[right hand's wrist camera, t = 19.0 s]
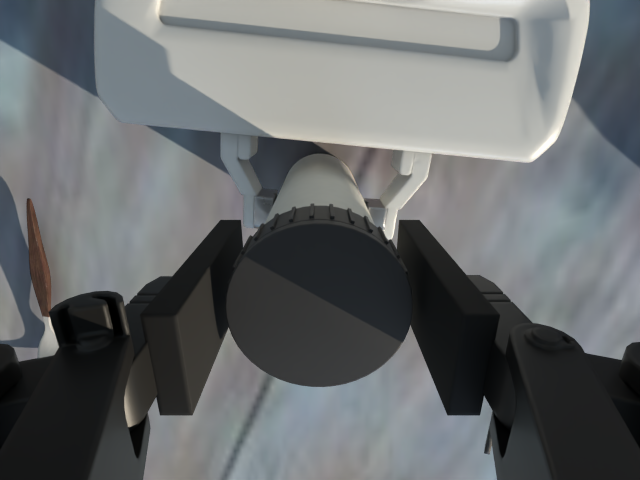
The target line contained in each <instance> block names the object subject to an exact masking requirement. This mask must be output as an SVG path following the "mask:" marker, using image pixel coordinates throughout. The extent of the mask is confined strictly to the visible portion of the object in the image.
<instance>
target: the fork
mask: <svg viewBox="0 0 640 480" xmlns="http://www.w3.org/2000/svg"><path fill="white" fill-rule="evenodd" d="M27 226H28V242H29V264H30V274H31V279H32V283H33V287H34V290H35V293H36V297H37V300H38V303H39V306H40V309H41V313H42V316H43V319H44V324H45V332H44V334H43V336H42V338H41V340H40V343H39V347H38V358H42V357H47V356H52V355H55V353H56V351H57V350H58V348H59V346H58V342H57V339H56V336H55V333H54V329H53V327H52V324H51V319H50V316H49V313H48V312H49V311H50V310H51V278H50V271H49V267H48V263H47V259H46V255H45V252H44V248H43V244H42V240H41V236H40V231H39V227H38V222H37V218H36V214H35V210H34V207H33V203H32V201H31V199H29V198H28V199H27Z"/></svg>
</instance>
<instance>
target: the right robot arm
mask: <svg viewBox="0 0 640 480" xmlns="http://www.w3.org/2000/svg"><path fill="white" fill-rule="evenodd" d="M242 249H243V242H242V230H241V220H220V221H219V223H218V224H217V225H216V226H215V227H214V228H213V230H212V231H211V232H210V233H209V234H208V235H207V237H206V238H205V239H204V240H203V241H202V242H201V244H200V245H199V246H198V247H197V248H196V250H195V251H194V252H193V253H192V254H191V255H190V257H189V258H188V259H187V260H186V261H185V262H184V264H183V265H182V266H181V267H180V268H179V269H178V271H177V272H176V273H175V274H174V275H173V276H161V277H159V278H157V279H155V280H153V281H152V282H150V283H148V284H146V285H145V286H144V287H143V288H142V289H141V290H140V291H139V292H138V293H137V296H135V297H134V298H133V299H132V300H131V301H130V304H127V305H126V306H124V301H123V297H122V296H121V295H120V294H118V293H116V292H111V291H96V292H90V293H85V294H81V295H78V296H75V297H72V298H69V299H67V300H65V301H63V302H61V303H59V304H57V305H55V306H54V307H53V308H52V309H51V310H50V311H49V312H48V313H49V316H50V319H51V323H52V326H53V329H54V333H55V336H56V339H57V342H58V346H59V348H58V350H57V351H56V353H55V355H52V356H47V357H42V358H37V359H31V360H26V361H21V362H19V361H18V358H17V356H16V353H15V350H14V348H13V347H11V346H10V345H8V344H0V480H143V476H144V469H145V462H146V455H147V448H148V441H149V435H150V421H149V417H148V410H149V409H150V407H151V405H152V403H153V401H154V400H155V398H156V397H157V402H158V407H159V412H160V415H193V413H194V410H195V408H196V405H197V403H198V400H199V398H200V396H201V393H202V391H203V388H204V386H205V383H206V381H207V378H208V376H209V374H210V371H211V369H212V366H213V364H214V361H215V359H216V356H217V354H218V352H219V349H220V347H221V344H222V342H223V339H224V337H225V334H226V332H227V330H228V327H229V326H228V322H227V318H226V309H225V301H226V292H227V287H228V286H227V283H228V281H229V279H230V277H231V275H232V273H233V271H234V270H232V267H233V265H234V263H235V261H236V259H237V257H238V256H239V254H240V252H241V250H242ZM397 251H398V253H399V255H400V257H401V259H402V261H403V263H404V265H405V267H406V269H407V271H408V274H407V277H408V280H409V283H410V285H411V287H412V296H413V313H412V320H411V324H410V325H411V327H412V330H413V332H414V334H415V337H416V339H417V342H418V344H419V347H420V349H421V352H422V354H423V356H424V359H425V361H426V364H427V366H428V369H429V371H430V374H431V376H432V378H433V381H434V383H435V386H436V388H437V391H438V393H439V396H440V398H441V400H442V403H443V405H444V408H445V410H446V413H447V415H480V412H481V407H482V402H483V397H484V396H485V398H486V399H487V401H488V403H489V405H490V407H491V408H492V410H493V412H492V417H491V421H490V426H489V430H488V435H487V440H486V444H485V451H484V453H485V454H490V450H491V446H492V447H493V454H494V461H495V468H496V475H497V480H640V342H635V343H631V344H630V345H628V346H627V347H626V350H625V353H624V356H623V358H622V360H618V359H613V358H608V357H602V356H597V355H592V354H587V353H585V352H584V351H583V349H582V347H581V346H580V345H579V344H578V343H577V341H576V340H575V339H574V338H572V337H570V336H569V335H567V334H566V333H564V332H562V331H560V330H557V329H555V328H552V327H549V326H545V325H541V324H535V323H532V322H531V321H530V320H529V319H528V318H527V317H526V316H525V315H524V314H523V313H522V311H521V310H520V309H519V308H518V307H517V306H516V305H515V304H514V303H513V302H511V301H510V299H509V298H508V297H507V296H506V295H505V294H503V292H502V291H501V290H500V289H499V288H498V287H497V286H496V285H495V284H494V283H493V282H491V281H489V280H487V279H486V278H484V277H482V276H480V275H466V274H465V273H464V272H463V271H462V269H461V268H460V267H459V266H458V265H457V264H456V262H455V261H454V260H453V259H452V258H451V257H450V255H449V254H448V253H447V252H446V251H445V250H444V248H443V247H442V246H441V245H440V244H439V242H438V241H437V240H436V239H435V238H434V237H433V235H432V234H431V233H430V232H429V231H428V230H427V228H426V227H425V226H424V225H423V224H422V223H421V221H420V220H399V230H398V242H397Z"/></svg>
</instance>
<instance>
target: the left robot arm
mask: <svg viewBox="0 0 640 480" xmlns="http://www.w3.org/2000/svg"><path fill="white" fill-rule="evenodd" d="M589 14H590V0H95V10H94V63H95V81H96V89H97V93H98V96H99V98H100V100H101V101H102V102H103V104H104V105H105V106H106V107H107V109H108V110H109V111H110V113H111V114H112V115H113V116H114V117H115V119H116V120H118V121H119V122H122V123H129V124H139V125H150V126H160V127H170V128H180V129H190V130H200V131H211V132H220V158H221V160H222V161H223V163H224V165H225V167H226V169H227V170H228V172H229V174H230V176H231V177H232V179H233V181H234V183H235V184H236V186H237V188H238V190H239V192H240V193H241V195H244V211H243V224H244V227H247V228H259V227H260V225H261V224H262V223H264V224H265V222H266V220H267V218H268V215H269V213H270V211H271V209H272V207H273V205H274V202H275V200H276V198H277V190H272V189H263V188H262V186H261V184H260V182H259V180H258V178H257V176H256V174H255V172H254V170H253V168H252V166H251V163H250V161H249V159H250V158H251V157H252V156H253V155H255V154H256V153H257V149H258V136H261V137H272V138H282V139H292V140H302V141H312V142H322V143H332V144H343V145H353V146H363V147H373V148H383V149H393V156H392V163H391V166H392V167H393V168H394V169H395V170H396V171H397V172H399V173H398V175H397V176H396V177H395V179H394V180H393V181H392V183H391V184H390V185H389V187H388V188H387V189H386V191H385V192H384V193H383V195H382V196H381V197H380V199H367V198H365V199H364V202H365V204H366V207H367V209H368V211H369V213H370V215H371V218H372V220H373V222H374V224H375V226H376V227H377V228H378V227H379V226H380V227H381V228H382V230H383V232H384V234H385V236H386V238H387V239H388V240H390V239H391V240H392V237H393V233H394V228H395V222H396V217H397V211H398V209H401V208H402V207H403V206H404V204H405V203H406V202H407V201H408V200H409V199H410V197H411V196H412V195H413V194H414V193H415V192H416V190H417V189H418V188H419V187H420V186H421V185H422V183H423V182H424V181H425V180H426V179H427V176H428V172H429V167H430V162H431V157H432V153H434V154H444V155H454V156H465V157H475V158H485V159H495V160H505V161H516V162H526V163H528V162H532V161H534V160H535V159H536V158H538V157H539V156H540V155H541V154H542V153H544V152H545V151H546V150H547V149H548V148H549V147H550V146H551V145H552V144H553V143H554V142H555V141H556V139H557V138H558V136H559V134H560V132H561V129H562V126H563V123H564V121H565V118H566V114H567V111H568V108H569V104H570V101H571V98H572V94H573V90H574V86H575V83H576V79H577V75H578V71H579V67H580V63H581V59H582V54H583V49H584V45H585V40H586V34H587V29H588V23H589Z"/></svg>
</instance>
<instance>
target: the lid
mask: <svg viewBox="0 0 640 480" xmlns="http://www.w3.org/2000/svg"><path fill="white" fill-rule="evenodd" d="M232 270H234V271H233V273H232V275H231V277H230V279H229V281H228V283H227V286H228V287H227V292H226V301H225V309H226V318H227V322H228V326H229V329H230V331H231V334H232V336H233V338H234V340H235V342H236V344H237V345H238V347H239V348H240V349H241V351H242V352H243V353H244V355H245V356H246V357H247V358H248V359H249V360H250V361H251V362H252V363H254V364H255V365H256V366H257V367H259V368H260V369H261V370H263V371H265V372H266V373H268V374H269V375H272V376H274V377H276V378H278V379H280V380H283V381H286V382H289V383H293V384H297V385H302V386H310V387H327V386H336V385H341V384H346V383H349V382H353V381H356V380H358V379H360V378H363V377H365V376H367V375H369V374H371V373H372V372H374V371H376V370H377V369H378V368H380V367H381V366H382V365H384V364H385V363H386V362H387V361H388V360H389V359H390V358H391V357H392V356H393V355H394V354H395V353H396V351H397V350H398V349H399V347H400V346H401V344H402V343H403V341H404V339H405V337H406V335H407V333H408V330H409V327H410V324H411V320H412V313H413V296H412V287H411V285H410V283H409V280H408V277H407V274H408V271H407V269H406V267H405V265H404V263H403V261H402V259H401V257H400V255H399V253H398V251H397V249H396V247H395V245H394V244H393V242H392V240H391V239H390V240H388V239H387V238H386V236H385V234H384V232H383V230H382V228H381V227H380V226H379V227H378V228H377V227H376V226H375V225H374V224H373V223H371V222H370V221H369V219H368V217H367V216H364V217H362V216H360V215H358V214H356V213H354V212H352V210H351V209H350V208H348V209H347V210H346V209H342V208H338V207H333V204H329V206H314V203H312V204H310V206H306V207H301V208H296V207H292V210H290V211H287V212H285V213H282V214H280V215H279V214H278V213H277V214H275V216H274V218H273V219H271V220H270V221H269V222H267V223H266V224H264V223H262V224H261V225H260V227H259V229H258V231H257V232H256V233H255V235H254V236H253V237H252V236H251V235H250V237H249V238H248V240H247V242H246V244H245V246H244V247H243V249H242V250H241V252H240V254H239V256H238V257H237V259H236V261H235V263H234V265H233V267H232Z"/></svg>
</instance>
